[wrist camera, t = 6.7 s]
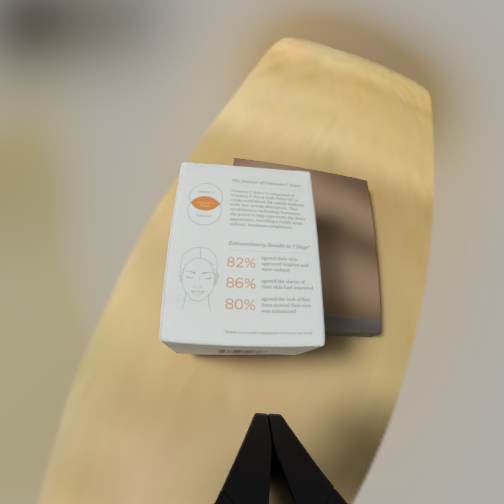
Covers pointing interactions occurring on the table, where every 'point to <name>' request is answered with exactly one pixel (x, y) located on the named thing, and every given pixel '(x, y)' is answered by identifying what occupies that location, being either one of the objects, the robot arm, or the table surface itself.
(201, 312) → the small box
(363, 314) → the floor panel
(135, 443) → the table surface
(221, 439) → the table surface
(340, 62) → the table surface
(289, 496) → the robot arm
